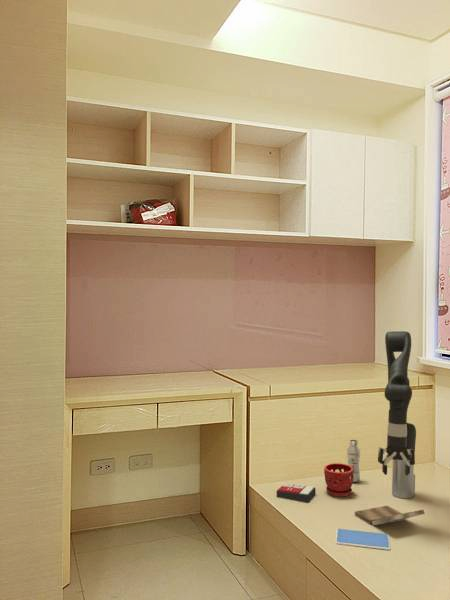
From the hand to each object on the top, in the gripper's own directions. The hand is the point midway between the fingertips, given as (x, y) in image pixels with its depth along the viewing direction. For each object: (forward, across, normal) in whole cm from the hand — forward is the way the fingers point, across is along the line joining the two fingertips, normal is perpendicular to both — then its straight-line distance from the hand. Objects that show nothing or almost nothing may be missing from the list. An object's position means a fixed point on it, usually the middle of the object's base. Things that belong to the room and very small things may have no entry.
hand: (395, 474), depth 215 cm
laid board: (+19, +5, -5) cm, 20 cm away
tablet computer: (+21, +17, +16) cm, 31 cm away
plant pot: (+18, +16, -31) cm, 39 cm away
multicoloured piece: (+19, +36, -27) cm, 49 cm away
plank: (+16, 0, +5) cm, 17 cm away
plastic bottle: (+17, +6, -46) cm, 50 cm away
